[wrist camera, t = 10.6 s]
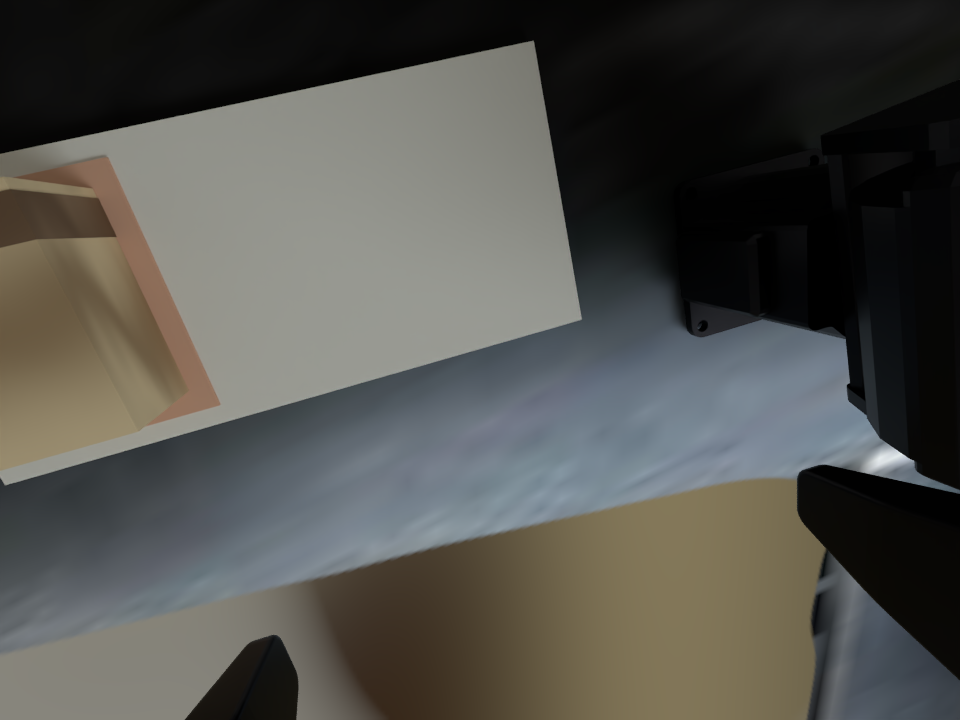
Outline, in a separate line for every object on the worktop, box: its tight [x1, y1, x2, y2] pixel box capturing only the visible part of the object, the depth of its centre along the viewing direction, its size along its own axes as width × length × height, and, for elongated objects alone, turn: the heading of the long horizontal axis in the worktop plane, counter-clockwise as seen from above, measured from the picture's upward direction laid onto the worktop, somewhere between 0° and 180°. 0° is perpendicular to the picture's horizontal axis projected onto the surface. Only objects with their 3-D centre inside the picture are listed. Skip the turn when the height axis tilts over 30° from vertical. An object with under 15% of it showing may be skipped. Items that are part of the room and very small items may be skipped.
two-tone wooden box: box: [0, 177, 189, 471], centre depth 13 cm, size 7×4×4 cm, turn 14°
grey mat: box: [0, 41, 582, 485], centre depth 16 cm, size 22×10×1 cm, turn 104°
